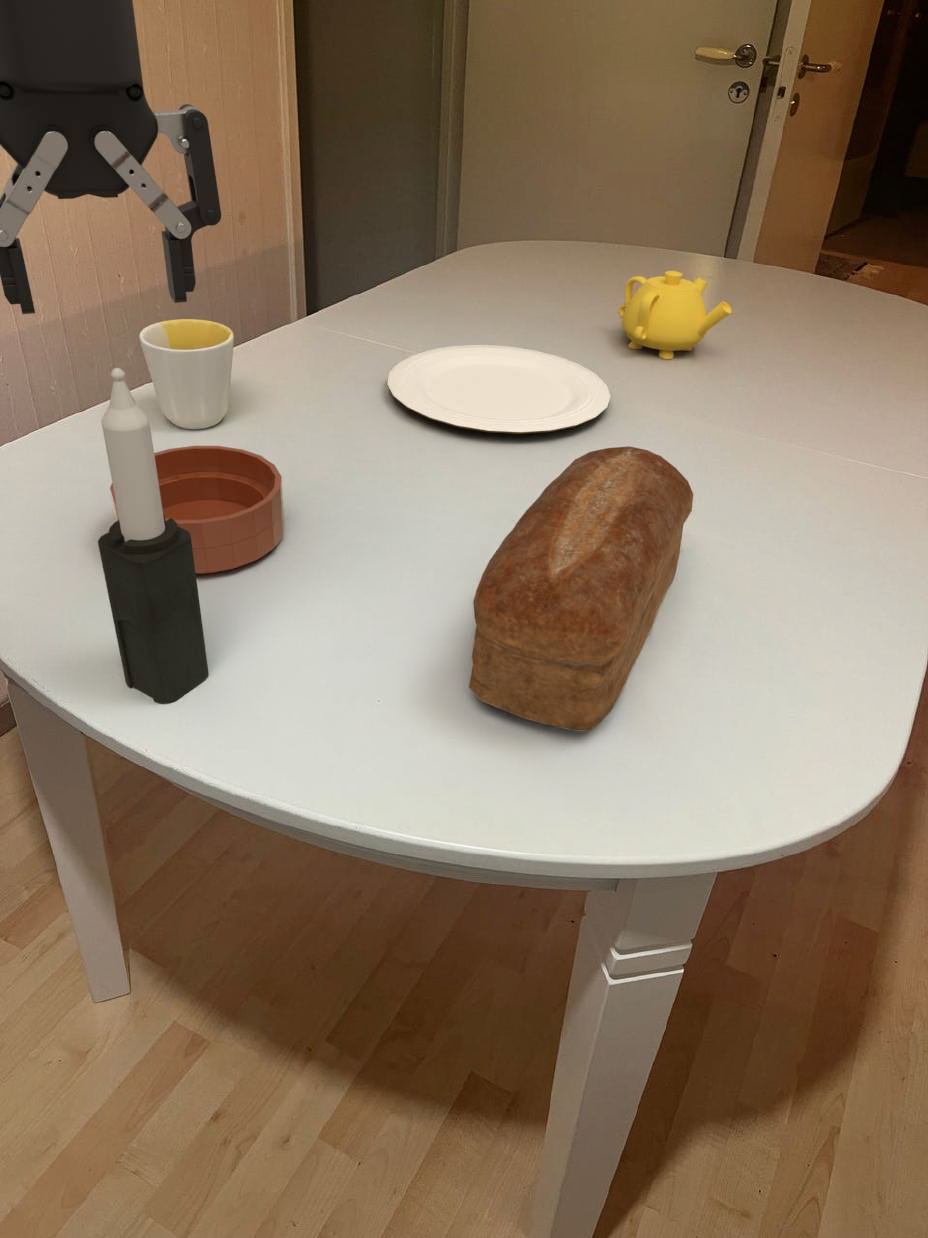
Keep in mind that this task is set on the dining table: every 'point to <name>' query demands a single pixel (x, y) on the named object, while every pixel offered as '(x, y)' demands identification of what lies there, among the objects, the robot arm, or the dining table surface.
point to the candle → (148, 564)
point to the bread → (579, 588)
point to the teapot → (668, 313)
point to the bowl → (221, 503)
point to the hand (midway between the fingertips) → (104, 304)
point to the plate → (498, 389)
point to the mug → (190, 369)
